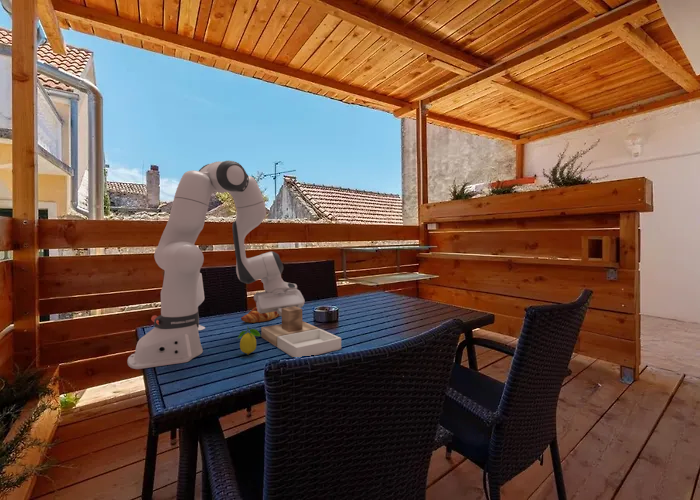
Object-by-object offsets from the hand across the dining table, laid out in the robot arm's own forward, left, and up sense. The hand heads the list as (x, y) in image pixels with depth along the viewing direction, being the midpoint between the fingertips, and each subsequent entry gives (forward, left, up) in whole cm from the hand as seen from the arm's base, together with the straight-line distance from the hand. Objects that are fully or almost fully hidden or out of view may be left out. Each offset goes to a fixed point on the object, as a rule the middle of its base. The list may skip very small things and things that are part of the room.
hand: (286, 318), depth 141 cm
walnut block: (0, -5, -3) cm, 6 cm away
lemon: (-20, -12, -8) cm, 24 cm away
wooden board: (0, -3, -7) cm, 8 cm away
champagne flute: (-27, +32, -8) cm, 43 cm away
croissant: (+2, +30, -8) cm, 31 cm away
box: (0, -18, -7) cm, 20 cm away
